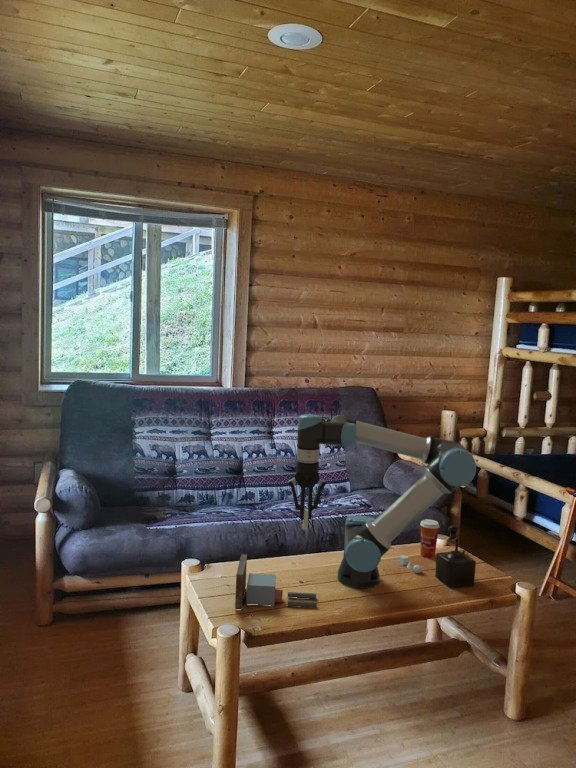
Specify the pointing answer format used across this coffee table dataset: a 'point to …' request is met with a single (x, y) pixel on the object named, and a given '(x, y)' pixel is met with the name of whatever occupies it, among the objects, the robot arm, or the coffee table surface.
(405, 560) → the game pieces
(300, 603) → the rails
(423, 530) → the paper cup
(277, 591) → the dowel
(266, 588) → the block
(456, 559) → the black joystick
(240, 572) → the wall
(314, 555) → the coffee table surface
